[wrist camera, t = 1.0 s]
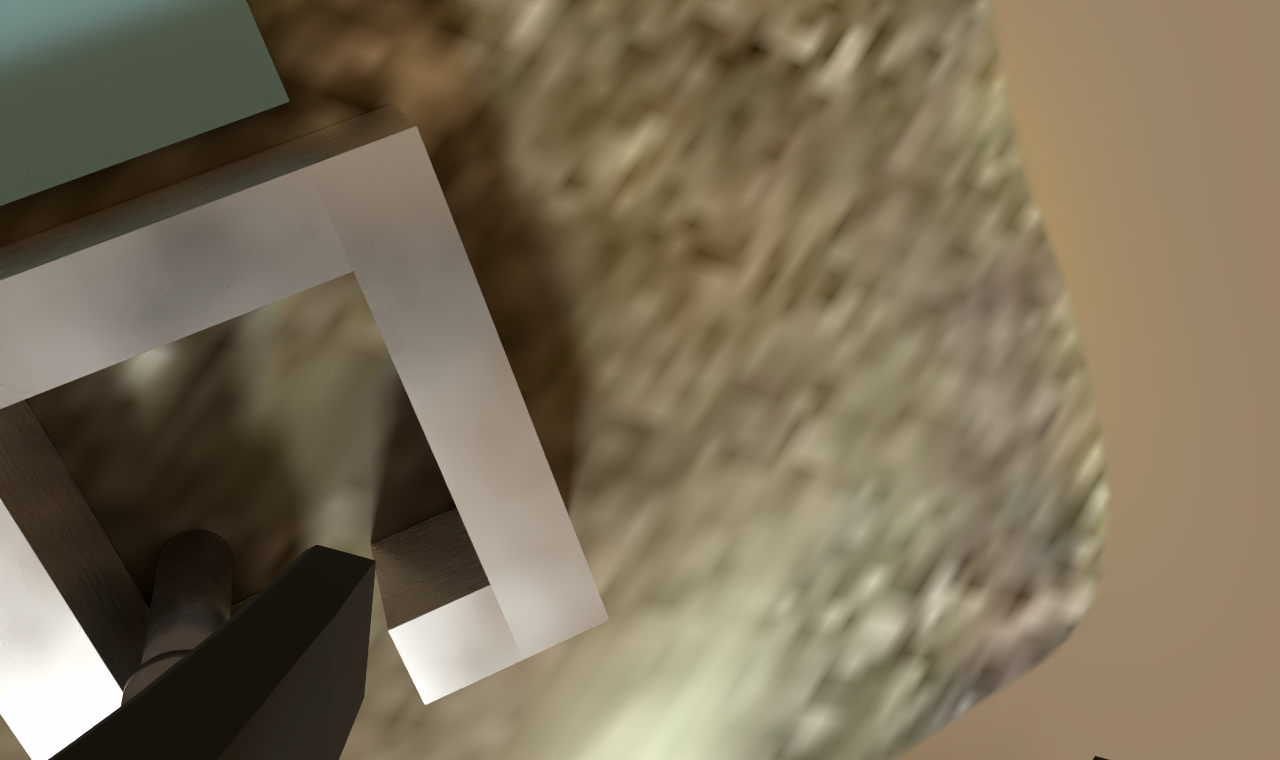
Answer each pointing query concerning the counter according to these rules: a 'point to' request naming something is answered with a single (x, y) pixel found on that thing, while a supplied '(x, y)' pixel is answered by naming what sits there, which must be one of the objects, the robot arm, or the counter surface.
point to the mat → (120, 82)
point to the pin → (184, 603)
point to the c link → (221, 290)
